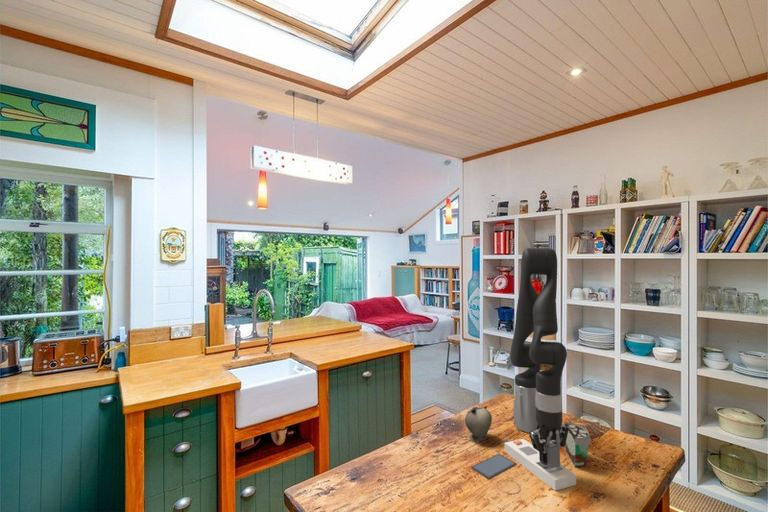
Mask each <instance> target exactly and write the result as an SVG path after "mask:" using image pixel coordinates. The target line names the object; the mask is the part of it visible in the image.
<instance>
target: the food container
mask: <svg viewBox="0 0 768 512" xmlns="http://www.w3.org/2000/svg"><path fill="white" fill-rule="evenodd" d="M563 425H564V426H566V427H567V428H569V431H568V435H567V439H566V444H565V447H564V449H565V453H566V455H567V456H568V459H569V460H570V462H571V463H572V465H573V467H574V468H576V469H579V468H580V469H581V468H585V467H587V465H588V460H589V459H588V456H589V444H590V443H591V442H592V438H591V434H590V433H589V430H587V428H586V427H584V426H582V425H580V424H577V423H574V422H571V421H570V422H568V421H564V422H563Z"/></svg>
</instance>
